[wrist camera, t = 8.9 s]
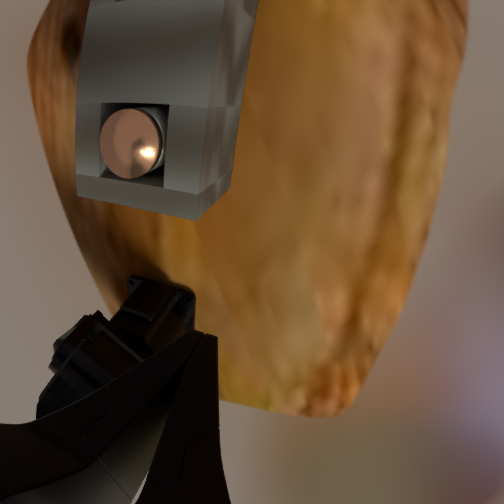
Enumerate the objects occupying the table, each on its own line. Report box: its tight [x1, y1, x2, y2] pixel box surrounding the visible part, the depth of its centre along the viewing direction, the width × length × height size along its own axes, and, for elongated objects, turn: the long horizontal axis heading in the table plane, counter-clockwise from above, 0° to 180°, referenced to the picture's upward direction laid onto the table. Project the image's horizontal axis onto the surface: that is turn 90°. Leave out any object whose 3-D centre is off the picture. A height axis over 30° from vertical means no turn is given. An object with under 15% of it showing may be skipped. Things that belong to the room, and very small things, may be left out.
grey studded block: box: [75, 0, 259, 221], centre depth 14 cm, size 17×8×6 cm, turn 172°
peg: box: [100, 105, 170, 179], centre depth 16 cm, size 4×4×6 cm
